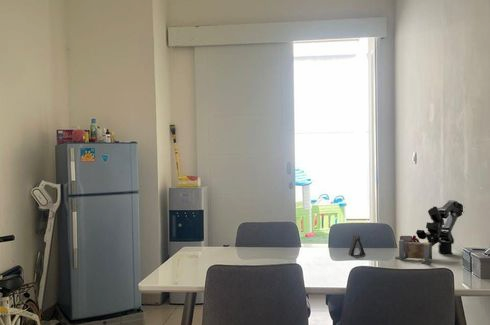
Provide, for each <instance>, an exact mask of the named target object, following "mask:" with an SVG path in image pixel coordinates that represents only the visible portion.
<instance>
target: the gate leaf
mask: <svg viewBox="0 0 490 325" xmlns="http://www.w3.org/2000/svg"><path fill="white" fill-rule="evenodd" d="M423 243H424V242H420V243H410V242H405V258H406V259H416V260H417V259H418V260H419V259H420V260H424V244H423ZM429 260H433V246H432V243H430V244H429Z"/></svg>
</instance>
